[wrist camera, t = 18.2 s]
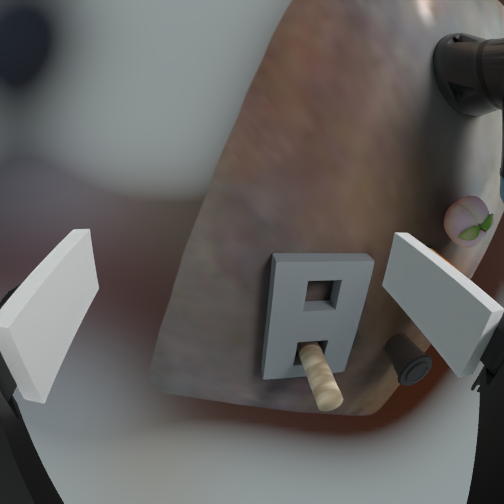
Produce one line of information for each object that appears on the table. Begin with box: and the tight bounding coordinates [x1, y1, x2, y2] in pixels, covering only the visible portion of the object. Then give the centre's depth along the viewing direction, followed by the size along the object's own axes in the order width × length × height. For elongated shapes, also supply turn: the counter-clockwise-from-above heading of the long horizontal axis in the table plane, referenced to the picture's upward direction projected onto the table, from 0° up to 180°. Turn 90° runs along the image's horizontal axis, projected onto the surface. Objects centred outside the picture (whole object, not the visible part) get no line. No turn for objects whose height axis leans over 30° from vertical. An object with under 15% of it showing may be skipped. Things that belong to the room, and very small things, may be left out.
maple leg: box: [297, 341, 343, 411], centre depth 50 cm, size 4×4×15 cm
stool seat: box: [261, 253, 375, 380], centre depth 53 cm, size 24×16×3 cm, turn 177°
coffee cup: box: [385, 334, 432, 386], centre depth 56 cm, size 8×8×10 cm
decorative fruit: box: [444, 196, 493, 248], centre depth 45 cm, size 9×8×10 cm
